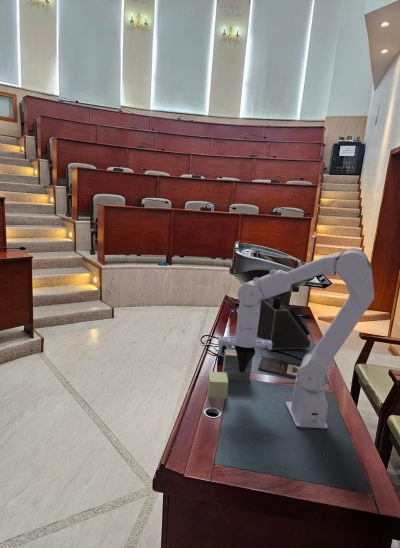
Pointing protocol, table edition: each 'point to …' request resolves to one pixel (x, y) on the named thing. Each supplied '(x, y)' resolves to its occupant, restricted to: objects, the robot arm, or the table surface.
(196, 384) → the table surface
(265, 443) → the table surface
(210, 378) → the olive cube
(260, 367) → the chocolate bar
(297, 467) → the table surface
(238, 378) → the beech slab
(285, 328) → the voltmeter
